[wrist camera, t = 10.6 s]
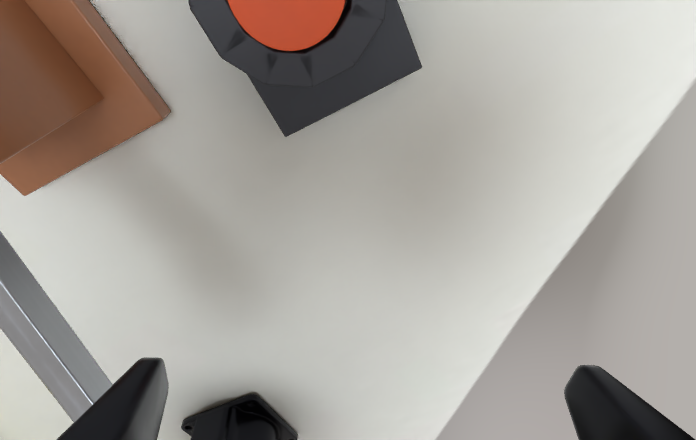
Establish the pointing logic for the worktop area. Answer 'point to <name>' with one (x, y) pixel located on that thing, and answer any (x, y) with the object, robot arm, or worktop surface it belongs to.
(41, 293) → the lever
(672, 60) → the worktop surface
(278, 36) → the button
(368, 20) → the control block
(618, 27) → the worktop surface
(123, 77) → the brown lever base bracket
